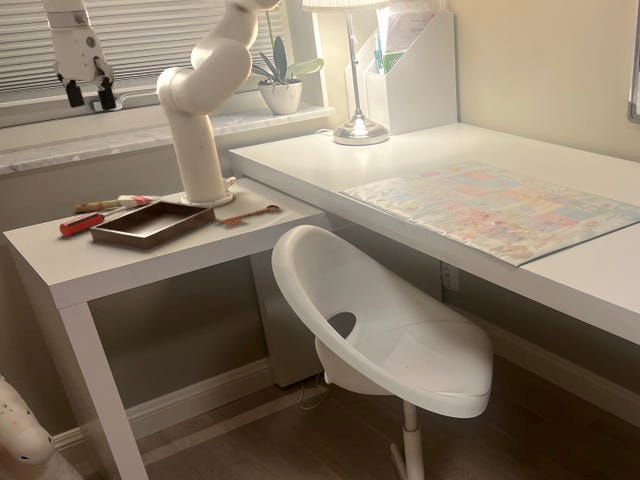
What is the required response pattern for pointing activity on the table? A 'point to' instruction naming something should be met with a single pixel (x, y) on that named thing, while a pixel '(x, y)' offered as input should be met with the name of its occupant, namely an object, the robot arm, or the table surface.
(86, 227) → the screwdriver
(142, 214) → the wooden tray
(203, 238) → the table surface
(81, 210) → the paintbrush
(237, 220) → the key
